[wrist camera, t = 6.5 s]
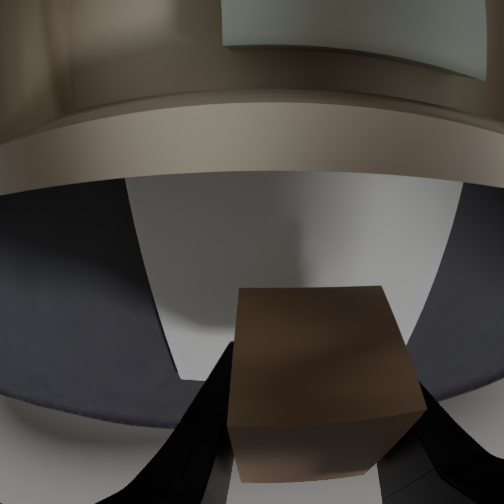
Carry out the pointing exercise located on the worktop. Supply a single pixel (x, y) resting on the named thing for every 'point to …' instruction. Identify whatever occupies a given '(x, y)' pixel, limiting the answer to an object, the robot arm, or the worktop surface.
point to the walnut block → (317, 383)
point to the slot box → (250, 88)
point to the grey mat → (282, 244)
